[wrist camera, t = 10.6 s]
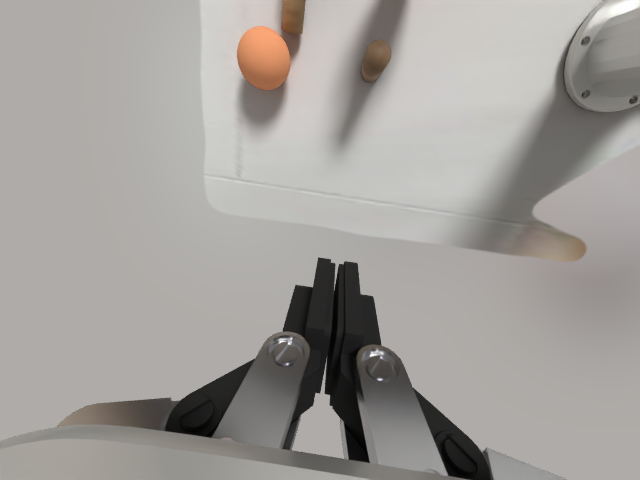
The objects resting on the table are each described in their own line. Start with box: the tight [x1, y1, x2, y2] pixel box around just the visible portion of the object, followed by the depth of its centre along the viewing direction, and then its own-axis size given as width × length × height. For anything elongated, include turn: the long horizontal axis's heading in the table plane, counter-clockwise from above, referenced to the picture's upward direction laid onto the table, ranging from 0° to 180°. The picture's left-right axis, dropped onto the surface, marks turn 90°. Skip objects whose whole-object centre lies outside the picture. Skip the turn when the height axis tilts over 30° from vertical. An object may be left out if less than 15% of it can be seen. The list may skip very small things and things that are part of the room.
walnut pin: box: [361, 40, 391, 82], centre depth 28 cm, size 2×2×8 cm
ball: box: [237, 26, 290, 90], centre depth 30 cm, size 6×6×6 cm
